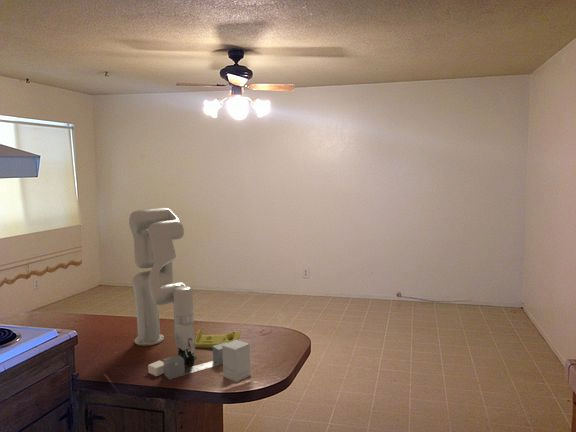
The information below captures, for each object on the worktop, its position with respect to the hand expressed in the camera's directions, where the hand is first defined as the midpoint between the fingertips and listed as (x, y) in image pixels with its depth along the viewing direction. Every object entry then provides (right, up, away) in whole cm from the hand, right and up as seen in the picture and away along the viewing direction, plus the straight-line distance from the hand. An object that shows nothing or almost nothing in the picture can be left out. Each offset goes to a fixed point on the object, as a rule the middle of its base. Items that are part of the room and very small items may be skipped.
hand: (186, 362), depth 186 cm
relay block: (-9, -2, -8) cm, 12 cm away
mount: (0, -1, 0) cm, 1 cm away
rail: (+6, -1, -5) cm, 8 cm away
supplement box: (+21, -2, -13) cm, 25 cm away
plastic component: (+10, +1, +18) cm, 21 cm away
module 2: (+14, +1, 0) cm, 14 cm away
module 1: (-2, -1, -11) cm, 11 cm away
